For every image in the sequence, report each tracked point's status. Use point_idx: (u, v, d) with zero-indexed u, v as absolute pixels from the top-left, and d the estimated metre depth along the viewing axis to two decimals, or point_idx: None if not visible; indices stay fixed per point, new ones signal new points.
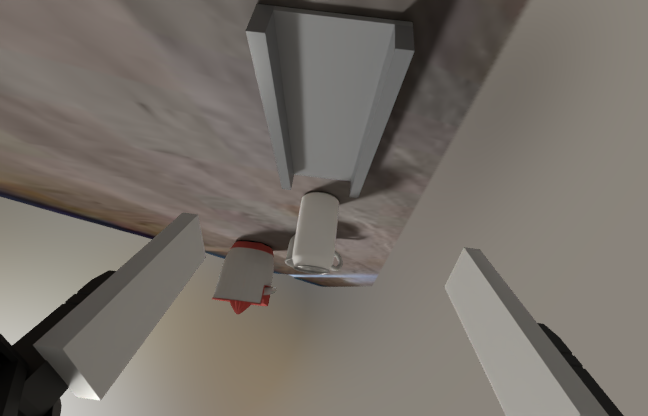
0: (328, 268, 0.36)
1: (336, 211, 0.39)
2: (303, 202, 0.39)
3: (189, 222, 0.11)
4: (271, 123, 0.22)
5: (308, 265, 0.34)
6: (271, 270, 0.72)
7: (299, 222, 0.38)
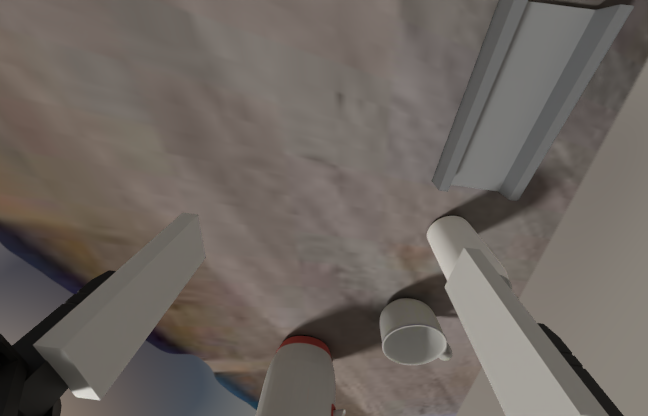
0: (508, 285, 0.28)
1: None
2: (438, 226, 0.36)
3: (189, 222, 0.11)
4: (483, 86, 0.26)
5: None
6: None
7: (445, 241, 0.33)
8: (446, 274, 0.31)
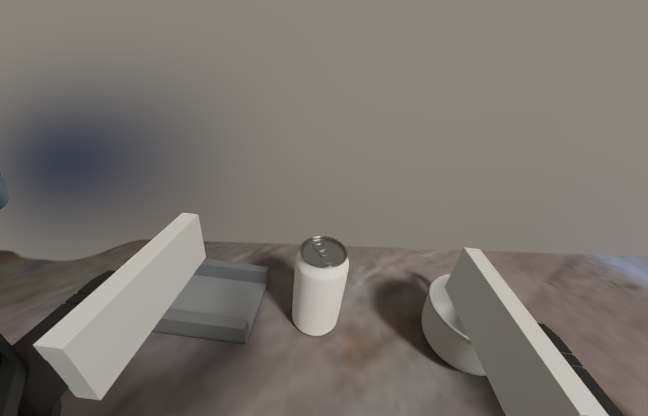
0: (316, 238, 0.31)
1: None
2: (299, 323, 0.31)
3: (189, 222, 0.11)
4: None
5: (300, 250, 0.28)
6: None
7: (302, 307, 0.29)
8: (326, 289, 0.27)
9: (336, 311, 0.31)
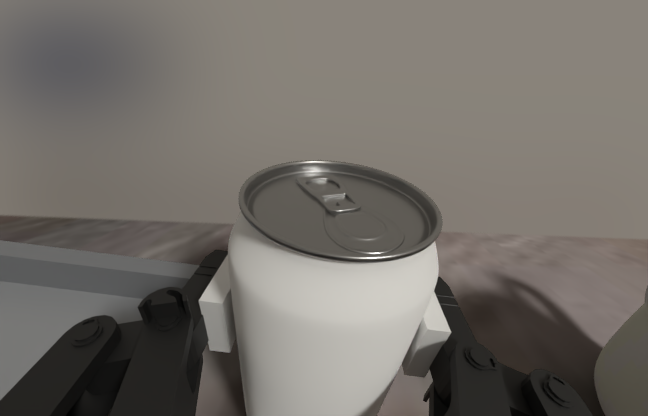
0: (312, 170, 0.09)
1: None
2: None
3: None
4: None
5: None
6: None
7: (263, 409, 0.08)
8: (357, 364, 0.06)
9: (379, 408, 0.09)
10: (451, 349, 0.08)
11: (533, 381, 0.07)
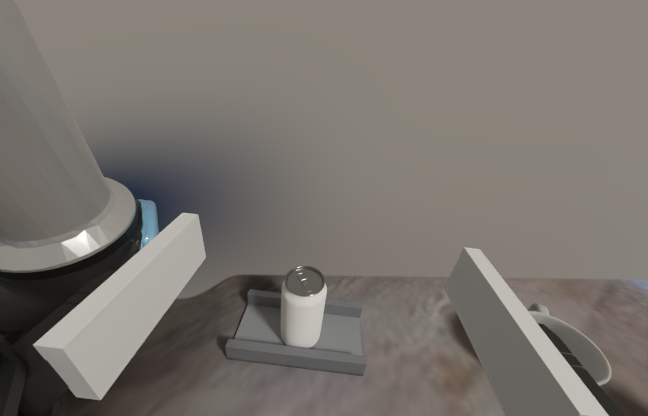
0: (300, 268, 0.36)
1: None
2: (286, 340, 0.36)
3: (189, 222, 0.11)
4: (280, 350, 0.34)
5: (285, 280, 0.33)
6: None
7: (288, 327, 0.35)
8: (306, 313, 0.32)
9: (317, 330, 0.36)
10: None
11: None
